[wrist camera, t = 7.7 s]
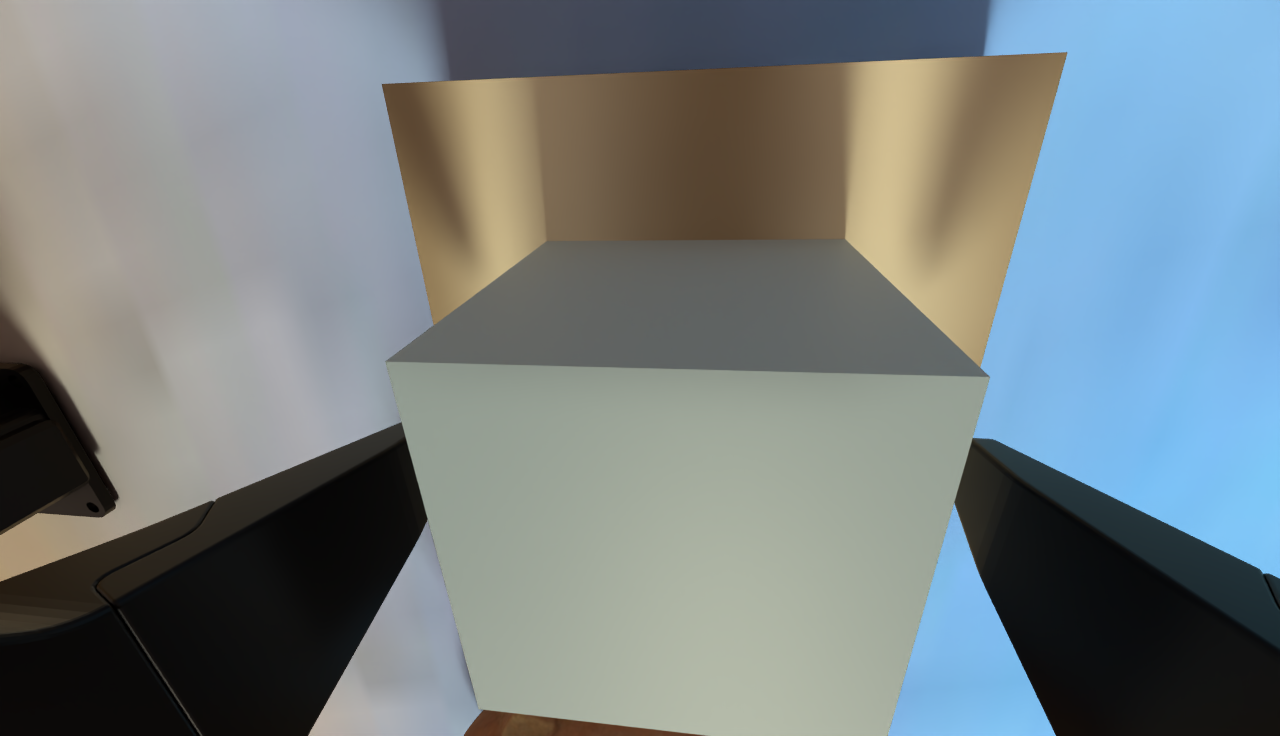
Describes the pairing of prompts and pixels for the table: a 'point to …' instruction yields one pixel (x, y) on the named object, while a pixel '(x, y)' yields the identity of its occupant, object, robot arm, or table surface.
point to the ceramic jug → (552, 727)
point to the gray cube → (689, 482)
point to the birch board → (736, 168)
